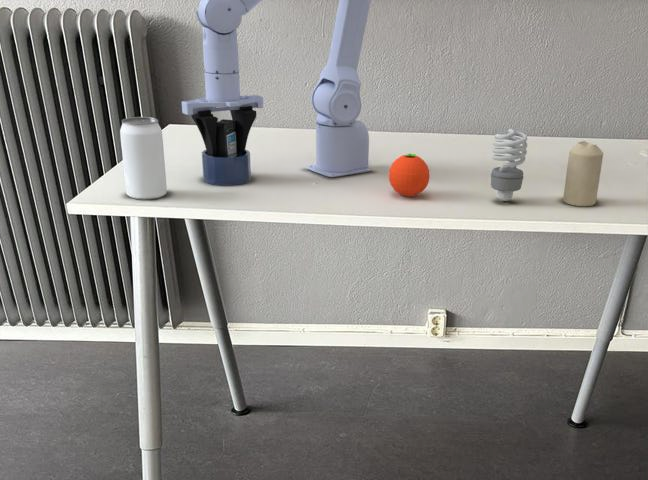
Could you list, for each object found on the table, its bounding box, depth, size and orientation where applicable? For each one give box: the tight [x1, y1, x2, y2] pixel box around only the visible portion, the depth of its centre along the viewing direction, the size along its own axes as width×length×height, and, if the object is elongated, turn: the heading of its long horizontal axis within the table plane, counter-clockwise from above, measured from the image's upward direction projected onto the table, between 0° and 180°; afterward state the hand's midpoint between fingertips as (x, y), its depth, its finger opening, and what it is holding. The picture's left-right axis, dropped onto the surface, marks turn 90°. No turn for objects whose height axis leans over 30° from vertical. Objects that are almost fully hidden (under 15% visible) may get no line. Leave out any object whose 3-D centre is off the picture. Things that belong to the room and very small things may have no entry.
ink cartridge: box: [215, 118, 239, 157], centre depth 145 cm, size 5×2×8 cm, turn 162°
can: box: [119, 116, 168, 201], centre depth 134 cm, size 6×6×12 cm
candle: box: [562, 140, 604, 207], centre depth 140 cm, size 6×6×10 cm
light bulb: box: [490, 128, 528, 203], centre depth 138 cm, size 6×6×12 cm
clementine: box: [388, 153, 431, 198], centre depth 141 cm, size 8×7×7 cm
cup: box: [201, 149, 252, 186], centre depth 147 cm, size 8×8×5 cm
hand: (226, 153), depth 146 cm, fingers closed on ink cartridge, 5 cm apart
